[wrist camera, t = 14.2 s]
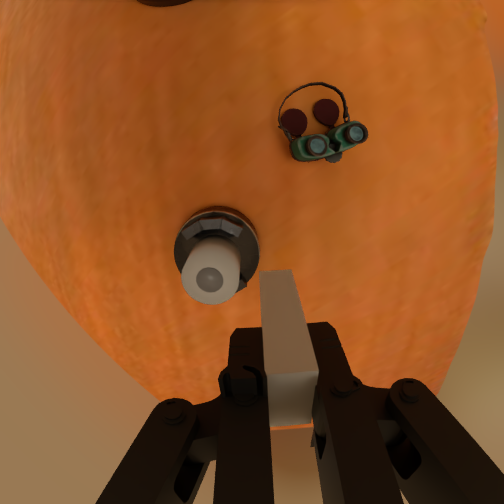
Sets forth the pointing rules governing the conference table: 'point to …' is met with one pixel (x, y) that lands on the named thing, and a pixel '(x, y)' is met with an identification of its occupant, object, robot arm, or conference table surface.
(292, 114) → the binoculars
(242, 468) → the robot arm
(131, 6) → the conference table surface
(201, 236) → the black round base
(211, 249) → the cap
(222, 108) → the conference table surface
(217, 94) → the conference table surface
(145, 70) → the conference table surface
